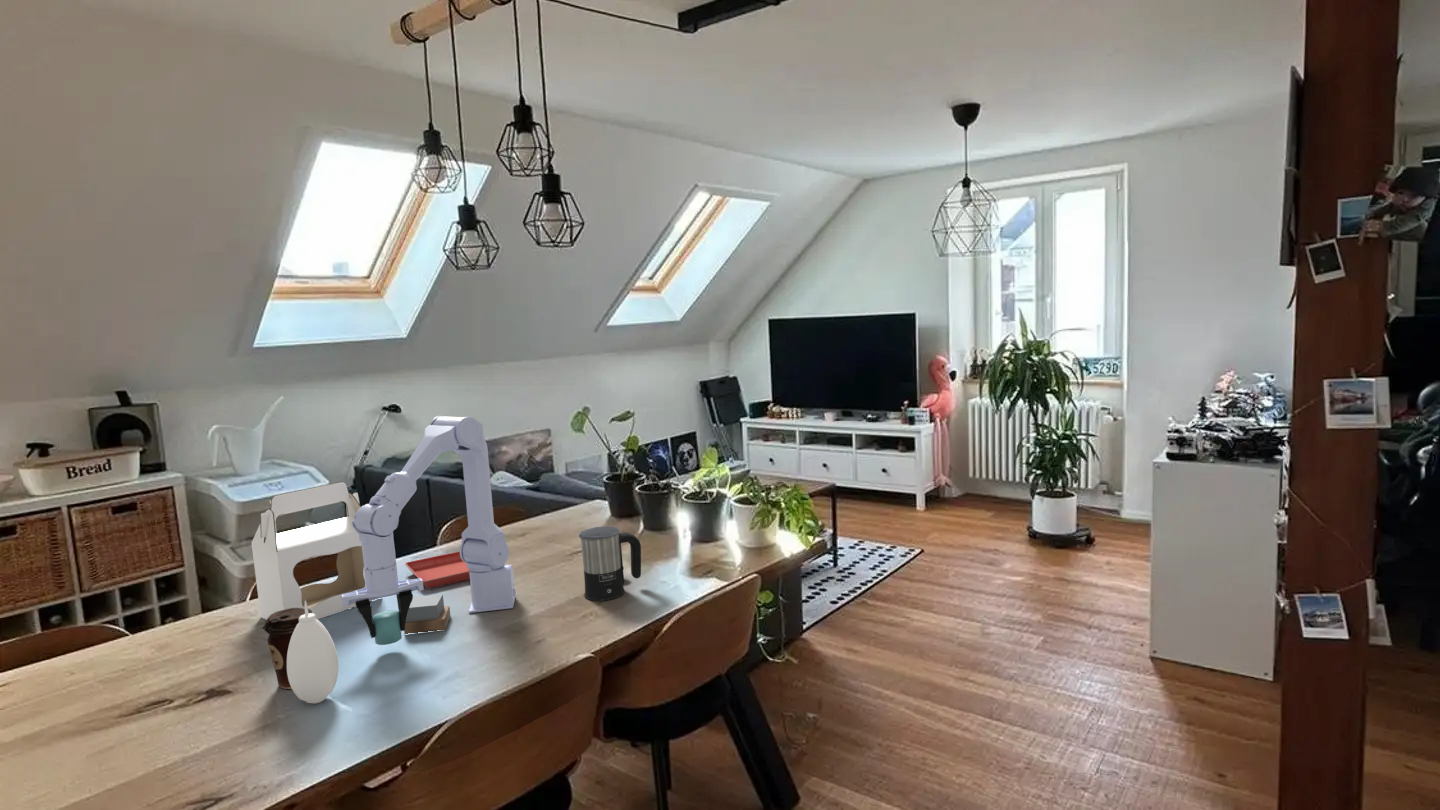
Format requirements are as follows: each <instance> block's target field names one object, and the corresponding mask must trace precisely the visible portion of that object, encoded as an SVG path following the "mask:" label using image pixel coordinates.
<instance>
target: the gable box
mask: <svg viewBox="0 0 1440 810" xmlns="http://www.w3.org/2000/svg"><path fill="white" fill-rule="evenodd" d="M268 503H269V505H270V507H269V508H270V509H267V510H266V511H265V512H260V513H259V520H260V521H259V522H260V523H259V524H258V527H257V529H256V531H255V534H254V536H253V539H252V540H251V549H252V556H253V557H252V558H253V566H254V573H255V581H256V582H255V583H256V590H257V599H258V605H259V606H258V607H259V613H260V614H259V615H260V618H261V619H263V620H265V621H266V620H267V619H268V617H269V616H270V615H271V614H273V613H275V612H277V611H281V610H285V609H289V608H303V609H305V601H306V603H307V608H308V609H310V610H311V611H312V613H313V614H315V615H316V618H317V620H320V619H324V618H326V616H327V617H330V616H333V615H336V614H339V613H341V612H340V611H342V612H345V611H347V610H346V609H348V610H350V609H349V608H351V609H353V608H352V607H354V608H357V607H356V604H355V603H354V604H350V605H349V606H345V607H343V604H342V596H341V595H342V594H345V593H349V592H353V591H356V590H359V589H362V588H366V579H365V570H364V561H363V552H362V544H361V540H360V538H359V534H358V532H356V531H355V530H354V528H353V526H352V521H354V516H355V514H356V512H357V511H358V509H359V508H360V507H362V506H361V504H360V497H359V494H358V492H353V493H351V492H349V490H348V487H347V484H346V483H345V482H343V481H339V482H334V483H329V484H326V485H325V484H324V485H321V486H316V487H311V488H305V489H300V490H295V491H289V492H284V493H281V494H280V493H279V494H276V495H273V496H272V497H271V498H270V499H269V500H268ZM337 503H338V504H341V503H344V504H345V506H346V509H345V510H346V517H342V518H337V519H336V518H335V519H333V520H329V521H323V522H320V523H317V524H311V525H309V526H303V527H300V528H296V529H291V530H287V531H282V532H279V533H278V531H277V524H276V521H277V518H278V517H282V516H284V515H287V514H292V513H297V512H301V511H305V510H311V509H314V508H319V507H325V506H328V505H332V504H337ZM334 554H337V556H336V564H335V566H336V571H337V578H336V579H335V580H334V581H332V582H328V583H323V582H322V583H313V584H309V585H305V586H303V587H300V585H299V584H298V582H297V580H296V579H295V576H294V568H295V567H296V565H297V564H298V563H300V562H301V561H304V560H306V559H309V558H312V557H316V556H326V555H334ZM373 600H375V599H373ZM369 601H372V600H369ZM372 602H373V601H372ZM344 610H345V611H344ZM338 612H339V613H338ZM335 613H336V614H335ZM332 614H333V615H332Z"/></svg>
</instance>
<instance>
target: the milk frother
mask: <svg viewBox="0 0 1440 810" xmlns="http://www.w3.org/2000/svg"><path fill="white" fill-rule="evenodd" d="M578 534H579V535H578V538H579V539H580V542H581V552H582V553H581V555H582V566H583V577H584V594H583V596H584V598H585V599H587V600H590V601H596V602H603V601H610V600H614V599H617V598H619V597H621V596H623V595H624V594H625V591H626V590H625V588H624V585H625V578H624V577H625V576H624V564H623V553H622V544H623V543H628V544H629V545H630V547H629V548H630V574H631V576H632V577H633V578H634V579H640V578H641V576H642V544H641V542H640V541H641V540H639V537H637V536H636V535H635V534H633V533H630V532H627V531H625V532H621V530H620V528H618V527H616V526H597V527H589V528H586V529H584V530H581V531H580V533H578Z"/></svg>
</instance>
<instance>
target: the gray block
mask: <svg viewBox="0 0 1440 810" xmlns="http://www.w3.org/2000/svg"><path fill="white" fill-rule="evenodd" d="M444 601H445V600H444V593H443V594H433V595H422V596H421V595H420V596H413V599H412V602H411V604H410V607H409V610H408V613H407V617H406V622H413V621H423V620H433V619H438V618H439V616H440V614H441V613H442V611H443V609H444V606H445V602H444Z"/></svg>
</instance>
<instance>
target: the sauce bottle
mask: <svg viewBox="0 0 1440 810" xmlns="http://www.w3.org/2000/svg"><path fill="white" fill-rule="evenodd" d="M339 668H340V667H339V657H338V652H337V649H336V646H335V642H334V640H333V638H332V636H331V634H330V632H329V631H328V629H327V628H326V627H325V625H324V623H322V622H321V621H320V619H318V620H317V619H316V615H315V614H313V613H308V608H307V603H306V601H305V614H304V615H301V616H300V617H299V623H298V624H297V626H296V628H295V630H294V632H293V634H292V637H291V640H290V643H289V647H288V652H287V675H288V680H289V683H290V686H291V688H292V689H291V690H292V692H293V693H294V694H295V696H297V698H298V699H299V700H300V701H304V702H305V703H307V704H312V705H313V704H319V703H321V702H323V701H324V700H326V699H327V697H328V696H329V695H330V694H331V693H332V692H333V691H334V689H335V686H336V684H337V680H338V676H339V670H340V669H339Z"/></svg>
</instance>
